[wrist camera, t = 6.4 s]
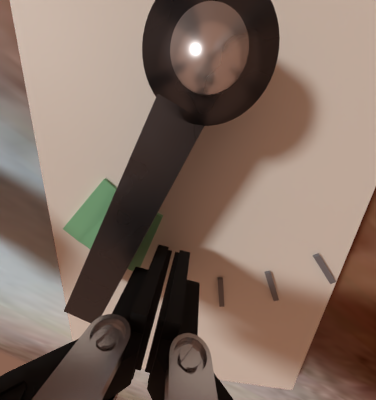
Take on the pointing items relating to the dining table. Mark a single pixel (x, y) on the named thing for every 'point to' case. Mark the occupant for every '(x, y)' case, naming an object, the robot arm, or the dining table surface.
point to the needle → (178, 119)
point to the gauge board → (215, 169)
